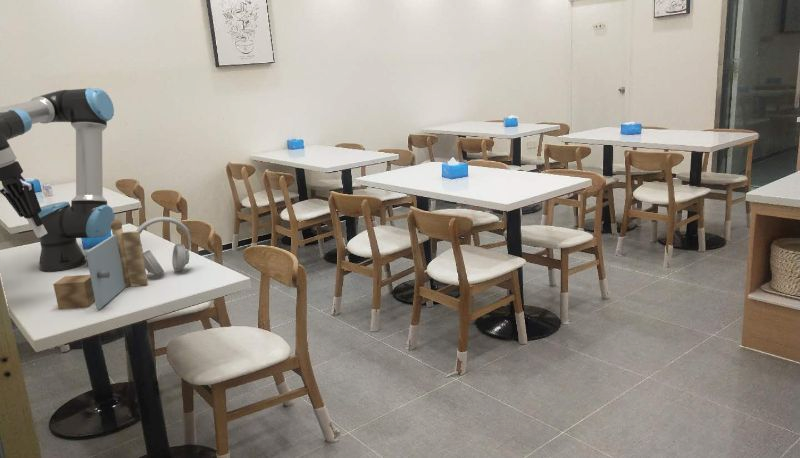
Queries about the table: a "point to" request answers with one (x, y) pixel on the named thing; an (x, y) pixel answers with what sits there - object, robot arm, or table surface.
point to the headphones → (179, 251)
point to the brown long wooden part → (130, 255)
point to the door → (105, 270)
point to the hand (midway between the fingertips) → (42, 235)
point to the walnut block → (74, 292)
